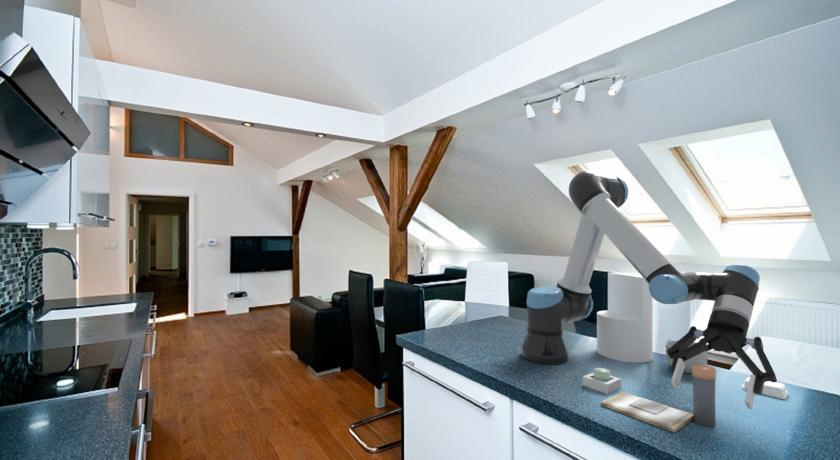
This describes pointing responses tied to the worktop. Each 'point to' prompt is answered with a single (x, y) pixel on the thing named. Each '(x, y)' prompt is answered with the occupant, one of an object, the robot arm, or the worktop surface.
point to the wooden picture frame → (648, 411)
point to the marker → (704, 395)
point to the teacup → (697, 359)
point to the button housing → (602, 383)
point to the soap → (771, 389)
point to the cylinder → (626, 320)
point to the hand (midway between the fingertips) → (708, 394)
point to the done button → (602, 374)
